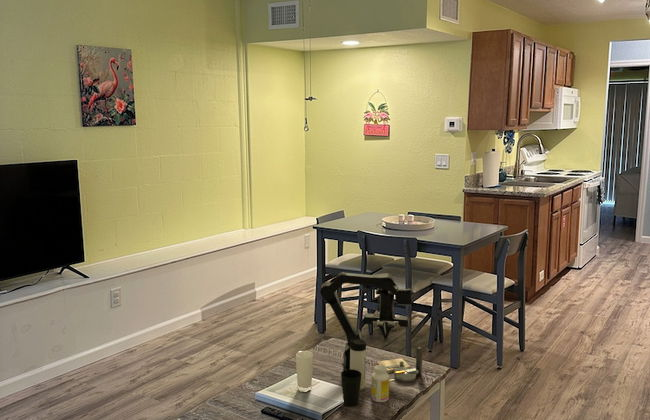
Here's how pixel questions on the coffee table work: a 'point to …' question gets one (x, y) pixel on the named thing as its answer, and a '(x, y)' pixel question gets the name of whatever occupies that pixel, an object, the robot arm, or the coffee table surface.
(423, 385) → the coffee table surface
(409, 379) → the grey piece
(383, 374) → the supplement bottle
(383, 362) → the stand
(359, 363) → the travel mug
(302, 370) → the drinking glass
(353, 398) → the cup
